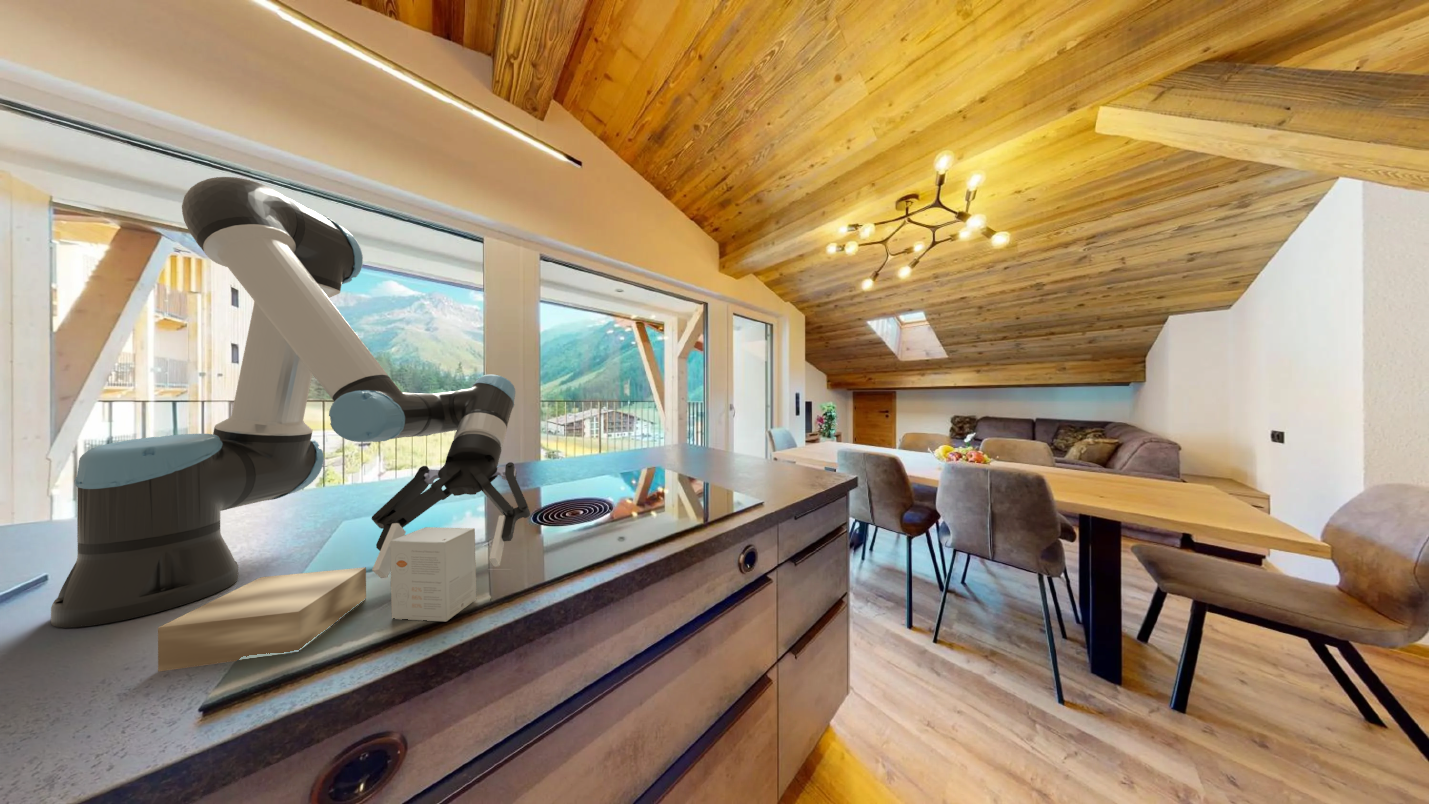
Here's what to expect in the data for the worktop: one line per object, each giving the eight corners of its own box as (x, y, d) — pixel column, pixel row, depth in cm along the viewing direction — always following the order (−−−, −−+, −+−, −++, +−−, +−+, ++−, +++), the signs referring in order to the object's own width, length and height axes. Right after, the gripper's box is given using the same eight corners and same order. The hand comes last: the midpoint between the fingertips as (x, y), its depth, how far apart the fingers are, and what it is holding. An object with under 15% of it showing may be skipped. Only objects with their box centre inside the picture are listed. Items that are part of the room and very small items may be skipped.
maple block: (261, 613, 52) (260, 577, 52) (366, 601, 55) (366, 567, 55) (158, 674, 40) (158, 627, 40) (298, 655, 43) (298, 611, 43)
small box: (477, 600, 54) (477, 527, 54) (445, 623, 49) (445, 541, 49) (426, 598, 55) (425, 525, 55) (389, 619, 50) (389, 539, 50)
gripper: (557, 455, 72) (542, 568, 57) (402, 461, 66) (342, 589, 51) (551, 429, 66) (534, 546, 52) (384, 433, 60) (310, 567, 46)
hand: (438, 568), depth 51 cm, fingers open, 13 cm apart
